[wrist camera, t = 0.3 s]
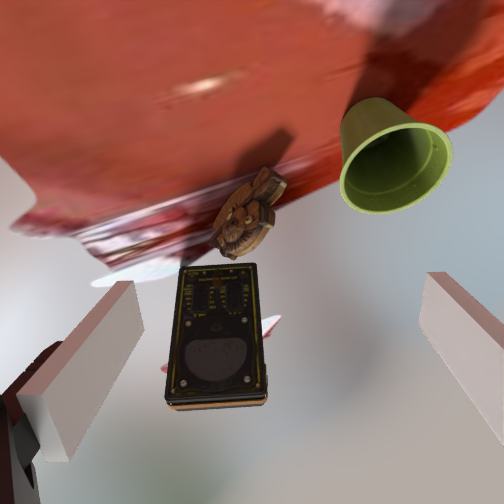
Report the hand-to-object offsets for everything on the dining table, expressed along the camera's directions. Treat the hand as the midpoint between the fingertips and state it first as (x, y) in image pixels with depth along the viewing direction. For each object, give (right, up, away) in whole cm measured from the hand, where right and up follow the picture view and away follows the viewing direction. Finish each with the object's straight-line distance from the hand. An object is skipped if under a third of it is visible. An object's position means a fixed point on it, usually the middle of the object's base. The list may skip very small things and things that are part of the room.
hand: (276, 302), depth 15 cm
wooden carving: (-3, +11, +36) cm, 38 cm away
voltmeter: (-8, -2, +51) cm, 52 cm away
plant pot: (+14, +19, +28) cm, 37 cm away
